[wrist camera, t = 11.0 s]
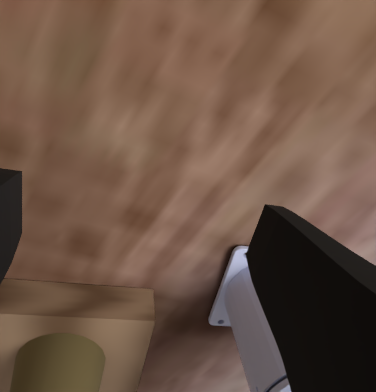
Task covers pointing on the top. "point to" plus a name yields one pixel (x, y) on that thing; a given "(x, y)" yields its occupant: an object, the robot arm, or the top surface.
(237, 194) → the top surface
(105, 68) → the top surface
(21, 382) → the cork
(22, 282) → the walnut block
